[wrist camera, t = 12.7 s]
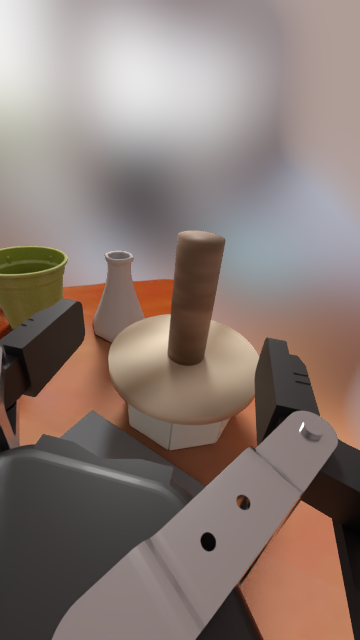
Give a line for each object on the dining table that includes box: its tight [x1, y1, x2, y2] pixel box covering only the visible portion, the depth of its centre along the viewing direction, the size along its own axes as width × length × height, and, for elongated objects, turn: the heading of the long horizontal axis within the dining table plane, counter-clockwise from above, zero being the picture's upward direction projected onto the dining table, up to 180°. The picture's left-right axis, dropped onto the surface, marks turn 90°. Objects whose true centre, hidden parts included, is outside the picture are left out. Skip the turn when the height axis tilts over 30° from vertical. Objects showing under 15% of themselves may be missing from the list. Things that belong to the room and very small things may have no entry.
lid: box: [108, 231, 259, 425], centre depth 21 cm, size 13×13×11 cm
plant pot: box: [0, 246, 68, 329], centre depth 33 cm, size 9×9×9 cm
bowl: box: [127, 403, 230, 451], centre depth 26 cm, size 10×10×5 cm
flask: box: [93, 251, 145, 343], centre depth 34 cm, size 7×7×10 cm
